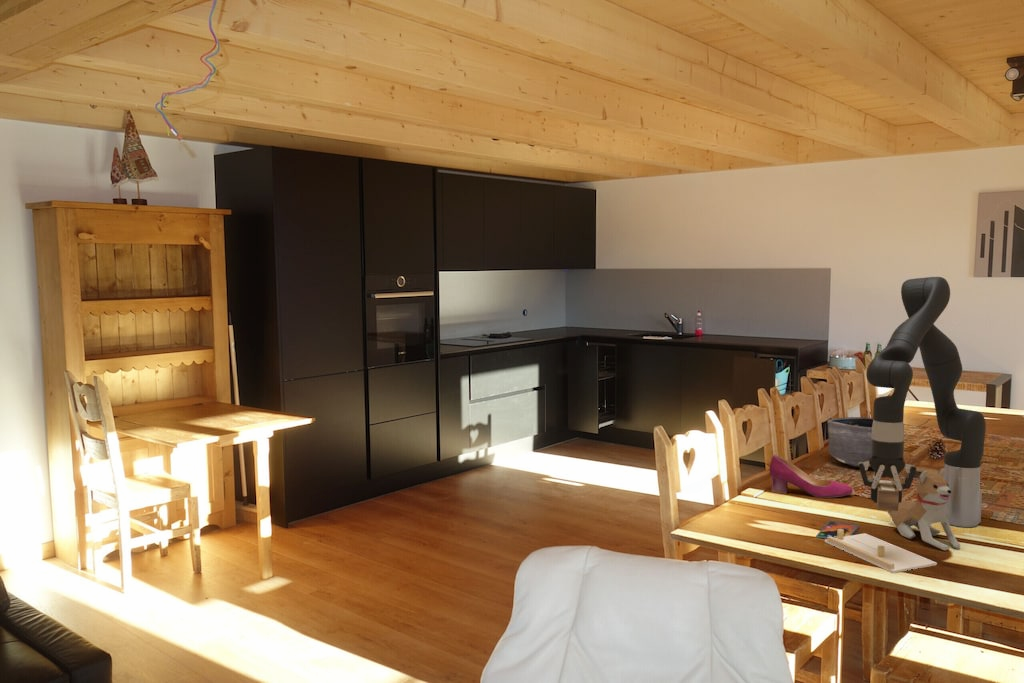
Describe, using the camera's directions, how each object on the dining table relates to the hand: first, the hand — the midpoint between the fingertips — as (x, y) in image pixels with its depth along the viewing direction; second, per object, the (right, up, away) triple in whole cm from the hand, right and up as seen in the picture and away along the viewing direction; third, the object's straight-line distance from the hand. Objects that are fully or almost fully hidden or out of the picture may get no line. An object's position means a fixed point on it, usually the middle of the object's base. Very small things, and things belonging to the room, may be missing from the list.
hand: (885, 502), depth 208 cm
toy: (+16, -13, +16) cm, 26 cm away
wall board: (0, -14, +3) cm, 14 cm away
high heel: (+2, -9, +58) cm, 59 cm away
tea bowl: (+34, -5, +93) cm, 99 cm away
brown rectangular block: (0, 0, 0) cm, 0 cm away
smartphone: (-4, -13, +20) cm, 24 cm away
